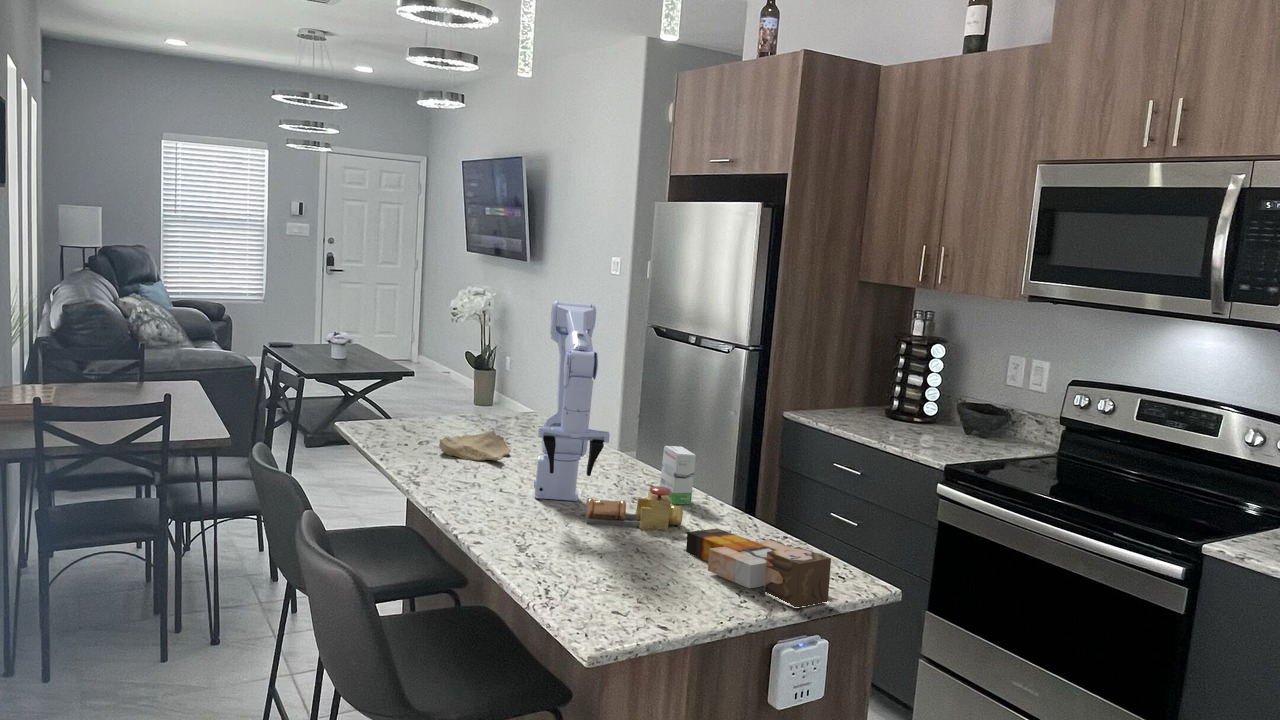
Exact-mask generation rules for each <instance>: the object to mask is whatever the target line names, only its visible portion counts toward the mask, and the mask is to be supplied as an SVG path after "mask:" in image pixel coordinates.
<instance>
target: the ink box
mask: <svg viewBox="0 0 1280 720" xmlns="http://www.w3.org/2000/svg"><path fill="white" fill-rule="evenodd" d="M696 458H697V455H696V454H695V453H693V452H692V451H690V450H688V449H687V448H685V447H683V446H676V445H675V446H674V445H664V446H663V454H662V462H661V472H660V481H659V486H660V487H666V488H669V489H670V490H671V492H670V495H668V497H669V499H670V501H671V504H672V505H691V504H692V497H693V487H694V477H695V470H696V469H695V468H696Z"/></svg>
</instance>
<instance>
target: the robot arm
mask: <svg viewBox="0 0 1280 720" xmlns="http://www.w3.org/2000/svg"><path fill="white" fill-rule="evenodd" d="M596 321H597V307H596V306H595V304H594V303H590V304H589V303H579V302H571V301H558V300H554V301H553V302H552V305H551V314H550V330H549V331H550V336H551V337H550V338H551V340H552V341H554V342H555V343H557V347H558V352H559V360H558V361H559V362H558V380H557V382H558V383H557V399H556V412H555V413H554V414H552V415H550V416H549V417H547V418H546V419H545V421H544V423H543V426H538V433H537V437H538V438H541V453H543V455H542V454H541V455H539V454H538V455H537V462H536V470H535V471H536V472H535V479H534V480H533V488H534V498H535V499H545V500H559V501H570V502H571V501H573V502H577V501H579V498H578V492H577V491H578V490H577V484H578V483H577V482H578V474H579V473H578V472H579V462H580V461H581V457H582V458H583V457H585V455H586V454H587V450H588V444H589V450H588V461H587V465H586V476H587V477H591V475H592V471H593V468H594V466H595V464H596V461H597V458H598V457H599V456H600V453H601V452H602V450H603V449H604V443H610V436H611V435H610V431H605V430H604V431H603V430H597V429H590V428H589V427H590V419H591V407H592V398H593V397H592V396H593V388H594V381H595V380H596V379H597V378H596V377H597V375H598V370H599V356H598V355H599V354H598V351H596V350H594V348H593V347H594V346H593V340H592V337H593V333H594V329H595V327H596V326H595V325H596ZM588 441H589V443H588Z"/></svg>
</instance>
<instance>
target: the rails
mask: <svg viewBox="0 0 1280 720" xmlns="http://www.w3.org/2000/svg"><path fill="white" fill-rule="evenodd" d="M635 519H636V520H637V521H635ZM585 520H586V521H585V524H586V523H588V525H589V524H590V525H601V524H602V526H603V525H604V526H615V527H616V526H618V527H630V526H631V527H632V526H633V527H632V528H639V524H640V521H638V519H637V514H636V513H628V512H625V519H624V520H609V519H595V518H587V519H586V518H585Z"/></svg>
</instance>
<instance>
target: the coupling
mask: <svg viewBox="0 0 1280 720" xmlns="http://www.w3.org/2000/svg"><path fill="white" fill-rule="evenodd" d="M585 501H586V503H585V509H584V510H585V511H584V517H585V520H586V519H587V518H595V519H609V520H624V521H625V520H626V519H625V513H627V512H626V508H627V507H626V506H627V505H626V500H622V499H620V500H606V499H593V498H592V497H587V498H586V500H585Z"/></svg>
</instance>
